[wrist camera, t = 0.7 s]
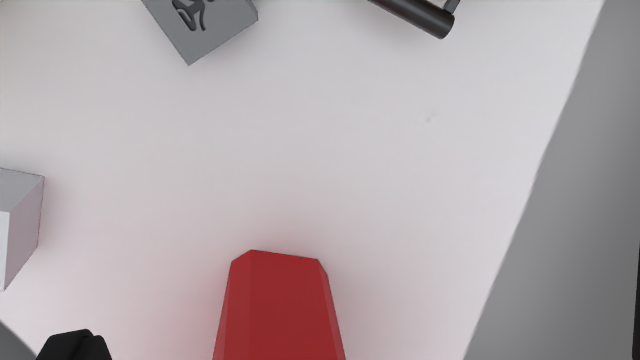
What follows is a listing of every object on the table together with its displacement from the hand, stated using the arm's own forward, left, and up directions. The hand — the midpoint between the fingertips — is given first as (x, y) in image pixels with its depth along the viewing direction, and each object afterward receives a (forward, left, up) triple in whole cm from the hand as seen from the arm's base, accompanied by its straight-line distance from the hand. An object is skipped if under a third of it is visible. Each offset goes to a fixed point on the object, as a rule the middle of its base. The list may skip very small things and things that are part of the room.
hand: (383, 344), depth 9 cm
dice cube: (-6, +1, -31) cm, 32 cm away
